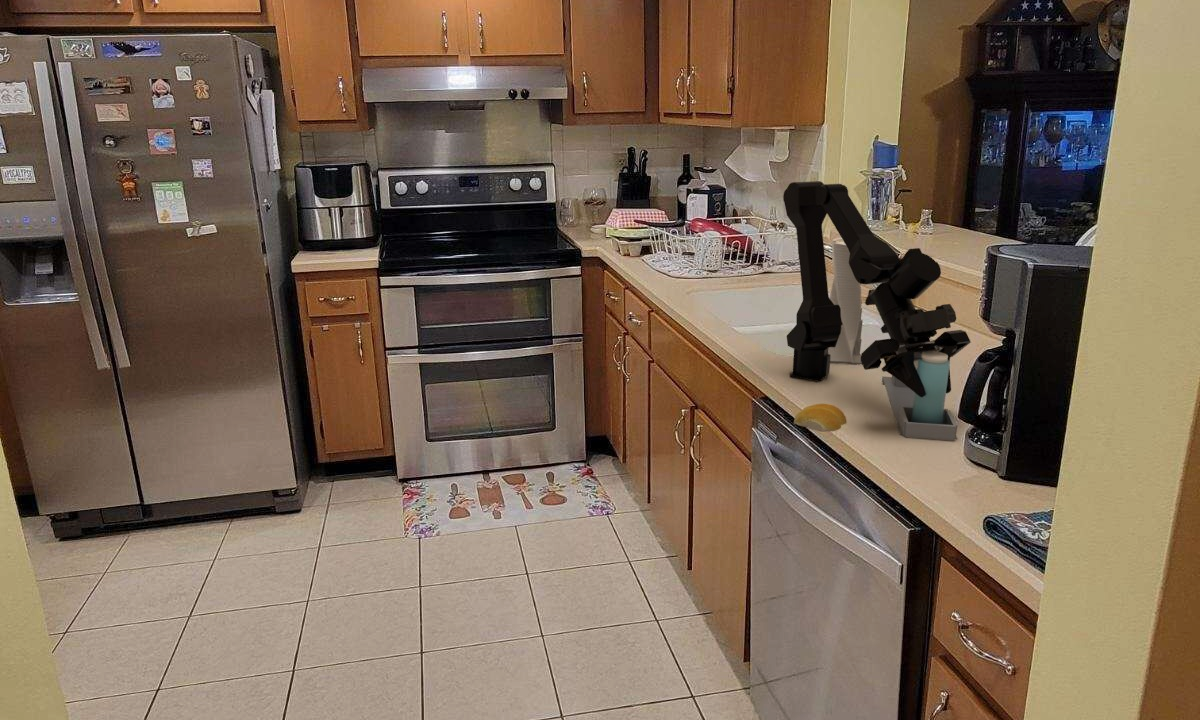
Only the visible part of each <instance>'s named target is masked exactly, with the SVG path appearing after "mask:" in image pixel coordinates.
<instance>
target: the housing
mask: <svg viewBox="0 0 1200 720" xmlns="http://www.w3.org/2000/svg"><path fill="white" fill-rule="evenodd" d="M881 377H882V378H881V383H882V382H883V383H882V385H883V386H884V387H885V389H886V390H885V391H886V392H887V393H886V394H887V397H888V400H889V403H890V406H891V410H892V413H893V416H894V420H895V422H896V423H895V424H896V427H897V431H898V433H899V435H900V436H903V437H905V438H909V439H910V438H912V439H923V440H937V441H947V442H948V441H950V442H951V441H952V442H954V441H956V440H958V436H957V431H958V424H957V422H956V419H955V418H954V416H953V413H952V412H951V410H949V409H948V408H944V412H943V420H942V424H929V423H916V422H911V420H912V411H913V403H914V394H915V392H913V391H912V390H911V389H910V388H909V387H907V386H906V385H905V384H904V383H902V382H901V381H900V380H898V379H897V378H895V377H894V376H892V375H891V376H881Z"/></svg>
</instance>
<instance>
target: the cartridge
mask: <svg viewBox="0 0 1200 720" xmlns="http://www.w3.org/2000/svg"><path fill="white" fill-rule="evenodd" d="M950 364H951V361H949V360H948V355H947V354H945V353H941V352H936V351H926V352H923V353H922V356H921V357H920V358H919V360H918V368H917V372H918V375H919V377H920V379H921V381H922V384H923V386H924V389H925V392H926V395H925V396H924V397H920V396H918V395H917V394H916V393H915V394H914V403H913V411H912V420H911V422H916V423H929V424H942V420H943V412H944V409H945V402H946V395H947V393H946V389H947V381H948V373H949V365H950Z"/></svg>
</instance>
